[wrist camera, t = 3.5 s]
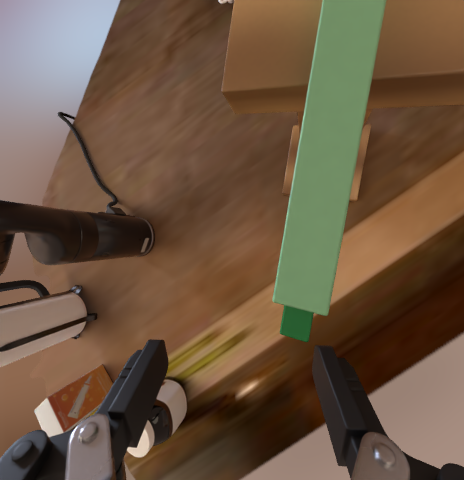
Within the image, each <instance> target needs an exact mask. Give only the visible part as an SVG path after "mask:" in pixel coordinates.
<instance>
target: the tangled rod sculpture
mask: <svg viewBox="0 0 464 480" xmlns="http://www.w3.org/2000/svg"><path fill="white" fill-rule="evenodd" d="M218 1H219V3H221V4H224V3H226V2H228V3H233V2H234V0H223V1H222V0H218Z"/></svg>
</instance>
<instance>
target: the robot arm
mask: <svg viewBox="0 0 464 480" xmlns="http://www.w3.org/2000/svg"><path fill="white" fill-rule="evenodd" d="M58 116H59V117H60V118H61V119H63V120H64V121H65V122H66V123H67V124H68V126H69V127H70V128H71V130H72V131H73V133H74V134H75V136H76V138H77V140H78V142H79V144H80V146H81V148H82V151H83V153H84V156H85V158H86V161H87V163H88V165H89V167H90V170H91V172H92V174H93V176H94V178H95V180H96V182H97V183H98V185H99V186H100V187H101V189H102V190H104V191H105V192H106V193H107V194H108V195H110V196H111V197H112V199H113V202H110V203H108V205H107V211H106V212H98V213H91V212H81V211H73V210H64V209H56V208H49V207H44V206H37V205H31V204H23V203H15V202H9V201H2V200H0V275H1V274H2V273H3V272H4V270H5V268H6V266H7V263H8V260H9V256H10V253H11V249H12V244H13V240H14V236H15V233H20V232H22V233H24V234H25V237H26V241H27V244H28V247H29V250H30V252H31V254H32V255H33V256H34V258H35V259H36V260H37V261H39V262H40V263H42V264H45V265H59V264H69V263H78V262H87V261H96V260H105V259H115V258H124V257H133V256H144V255H146V254H147V253H148V252H149V251H150V250H151V249H152V247H153V244H154V240H155V234H154V230H153V227H152V225H151V224H150V223H149V222H148V221H147V220H146V219H144V218H138V217H135V216H130V215H126V214H125V213H124V212H123V211H122V210H121V209H120V208H114V207H111V206H113V205H116V204H117V198H116V197H115V196H114V194H112V193H111V192H110V191H109V190H108V189H107V188H106V187H104V185H103V184H102V183H101V181H100V180H99V178H98V176H97V174H96V172H95V169H94V167H93V165H92V163H91V160H90V158H89V156H88V153H87V151H86V148H85V146H84V144H83V142H82V140H81V138H80V136H79V134H78V133H77V131H76V129H75V128H74V127H73V125H72V124H71V123H70V122H69V121H68V120H67V119H66V118H65V117H68V118H71V119H73V120H75V117H73V116H71V115H68V114H66V113H63V112H59V113H58ZM64 116H65V117H64ZM167 369H168V357H167V352H166V347H165V342H164V340H148V342H147V343H146V345H145V347H144V348H143V350H137V351H136V352H135V353H134V354H133V355H132V356H131V357H130V358H129V359H128V361H127V363H126V364H125V366H124V367H123V370H122V371H121V372H120V374H119V376H118V378H117V379H116V380H115V382H114V384H113V385H112V387H111V389H110V390H109V392H108V393H107V395H106V397H105V398H104V400H103V402H102V403H101V405H100V406H99V408H98V410H97V411H96V413H95V414H94V415H91V416H89V417H88V418H86V419H85V420H83V421H82V422H81V423H80V424H79V425H78V426H77V427H76V428H75V429H74V430H71V431H68V432H65V433H61V434H58V435H55V436H51V437H48V435H47V433H46V432H45V431H43V430H36V431H32V432H30V433H28V434H26V435H24V436H23V437H21V438H20V439H18V440H17V441H16V442H15V443H14V444H13V445H12V446H11V447H10V448H9V449H8V450H7V451H6V452H5V453H4V455H3V456H2V457H1V459H0V480H126V473H125V465H124V455H125V453H126V451H127V448H128V447H132V448H137V446H138V443H139V441H140V438H141V436H142V433H143V431H144V428H145V426H146V423H147V421H148V418H149V416H150V413H151V411H152V408H153V406H154V403H155V401H156V398H157V396H158V393H159V391H160V388H161V386H162V383H163V381H164V378H165V376H166V373H167ZM312 370H313V378H314V382H315V386H316V389H317V393H318V396H319V400H320V403H321V407H322V410H323V414H324V417H325V421H326V424H327V428H328V431H329V435H330V438H331V442H332V445H333V449H334V452H335V456H336V459H337V463H338V465H339V466H347V468H348V472H349V475H350V478H351V480H464V467H462V466H459V465H457V464H451V463H448V464H445V465H443V467H442V468H441V469H438V468H436V467H434V466H431V465H429V464H427V463H424V462H422V461H420V460H417V459H415V458H413V457H411V456H409V455H407V454H406V453H404V452H403V451H401V449H400V448H399V447H398V446H397V445H396V444H395V443H394V442H393V441H392V440H390V439H389V437H388V436H387V434H386V433H385V431H384V429H383V427H382V425H381V424H380V421H379V419H378V417H377V415H376V413H375V411H374V409H373V407H372V405H371V403H370V401H369V399H368V397H367V395H366V393H365V391H364V389H363V387H362V385H361V382H359V378H358V376H357V374H356V372H355V370H354V368H353V367H352V366H351V365H350V364H349V363H348V362H347V361H346V360H345V358H337V357H336V354H335V352H334V350H333V348H332V346H321V345H316V346H315V349H314V358H313V367H312Z"/></svg>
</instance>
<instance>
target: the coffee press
mask: <svg viewBox="0 0 464 480" xmlns="http://www.w3.org/2000/svg"><path fill="white" fill-rule="evenodd" d="M77 287H78V289H77V290H76V292H75V293H72V292H73V291H74V290H75V289H76V288H77ZM19 288H31V289H34V290H36V291H37V292H38V294H39V295H40V298H35V299H31V300H26V301H22V302H17V303H13V304H8V305H4V306H0V367H2V366H5V365H7V364H10V363H12V362H14V361H17V360H19V359H22V358H24V357H26V356H29V355H31V354H33V353H36V352H38V351H41V350H43V349H45V348H48V347H50V346H53V345H55V344H57V343H60V342H62V341H64V340H67V339H69V338H74V339H77V338H78V337H79V336H80V334H79V333H80V332H81V331H82V330H83V328H84V327H85V324H86V321H93V320H96V319H97V314H96V313H92V314H88V313H87V311H86V307H85V304H84V302H83V300H82V299H81V298H80V297H79V296H78V293H79V292H80V291H81V290H82V286H79V285H75V286H74V287H73V288H72V289H70V290H69V291H66V292H62V293H57V294H52V295H50V294H49V292H48V291H47V289H46V288H45V287H44V286H43V285H42V284H41V283H39V282H36V281H31V280H21V281H13V282H6V283H0V292H2V291H7V290H13V289H19ZM74 336H75V337H74Z"/></svg>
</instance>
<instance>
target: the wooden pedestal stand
mask: <svg viewBox="0 0 464 480" xmlns="http://www.w3.org/2000/svg"><path fill="white" fill-rule="evenodd" d="M322 1H323V0H234V5H233V12H232V19H231V27H230V34H229V41H228V48H227V55H226V62H225V69H224V76H223V83H222V93H223V95H224V96H225V98H226V100H227V101H228V103H229V105H230V106H231V108H232V110H233V111H234V113H235V114H250V113H275V112H297V115H298V126H293V131H292V137H291V143H290V149H289V155H288V161H287V167H286V173H285V179H284V185H283V192H282V194H283V195H284V196H290V193H291V187H292V181H293V175H294V169H295V163H296V157H297V151H298V145H299V139H300V133H301V127H302V121H303V115H304V109H305V103H306V97H307V91H308V85H309V79H310V73H311V67H312V61H313V55H314V49H315V43H316V37H317V31H318V25H319V19H320V13H321V7H322ZM448 105H464V0H386V5H385V11H384V16H383V21H382V27H381V32H380V38H379V43H378V48H377V54H376V59H375V64H374V70H373V75H372V81H371V86H370V91H369V97H368V102H367V108H366V113H365V118H364V124H363V129H362V134H361V140H360V145H359V151H358V156H357V161H356V167H355V172H354V177H353V183H352V188H351V194H350V199H349V201H350V202H355V201H356V200H357V197H358V192H359V187H360V182H361V176H362V171H363V166H364V160H365V155H366V150H367V144H368V139H369V134H370V128H371V124H366V122H367V120H368V118H369V115H370V113H371V111H372V109H374V108H399V107H424V106H448Z"/></svg>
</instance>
